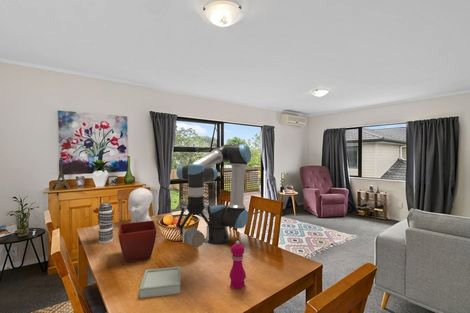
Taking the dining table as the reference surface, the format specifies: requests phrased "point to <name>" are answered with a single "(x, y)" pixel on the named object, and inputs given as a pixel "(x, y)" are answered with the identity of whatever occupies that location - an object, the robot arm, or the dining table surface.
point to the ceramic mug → (194, 237)
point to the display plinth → (160, 282)
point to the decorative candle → (105, 223)
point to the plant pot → (137, 240)
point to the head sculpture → (140, 204)
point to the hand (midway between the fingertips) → (195, 240)
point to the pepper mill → (237, 267)
